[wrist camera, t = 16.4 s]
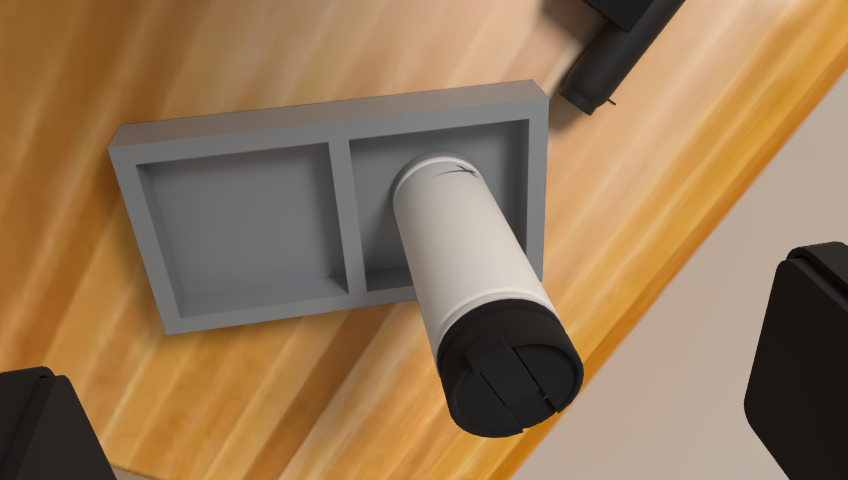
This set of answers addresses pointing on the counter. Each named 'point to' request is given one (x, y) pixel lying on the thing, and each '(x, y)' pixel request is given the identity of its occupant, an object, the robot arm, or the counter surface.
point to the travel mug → (481, 301)
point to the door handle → (615, 48)
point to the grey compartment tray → (313, 197)
